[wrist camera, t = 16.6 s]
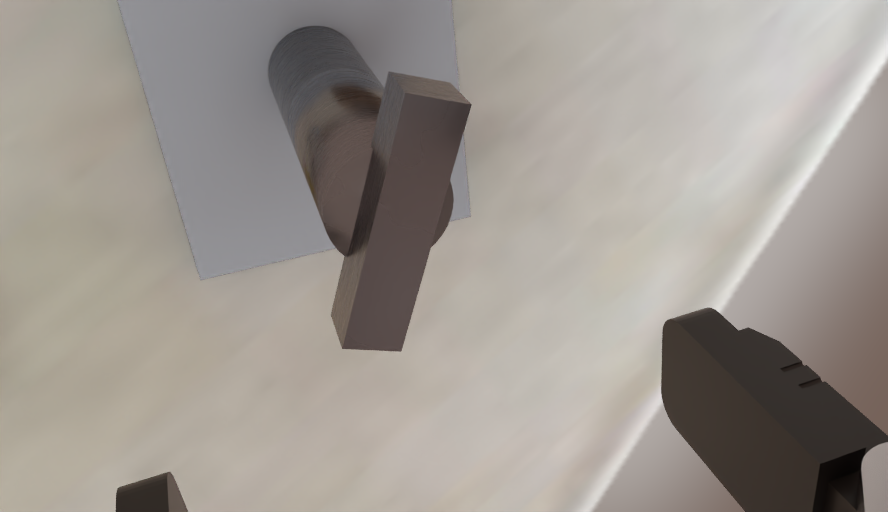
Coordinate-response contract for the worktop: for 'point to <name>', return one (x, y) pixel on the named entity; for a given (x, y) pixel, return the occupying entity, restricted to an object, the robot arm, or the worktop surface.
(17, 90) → the worktop surface
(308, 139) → the chuck key
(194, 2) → the mat
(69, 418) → the worktop surface
